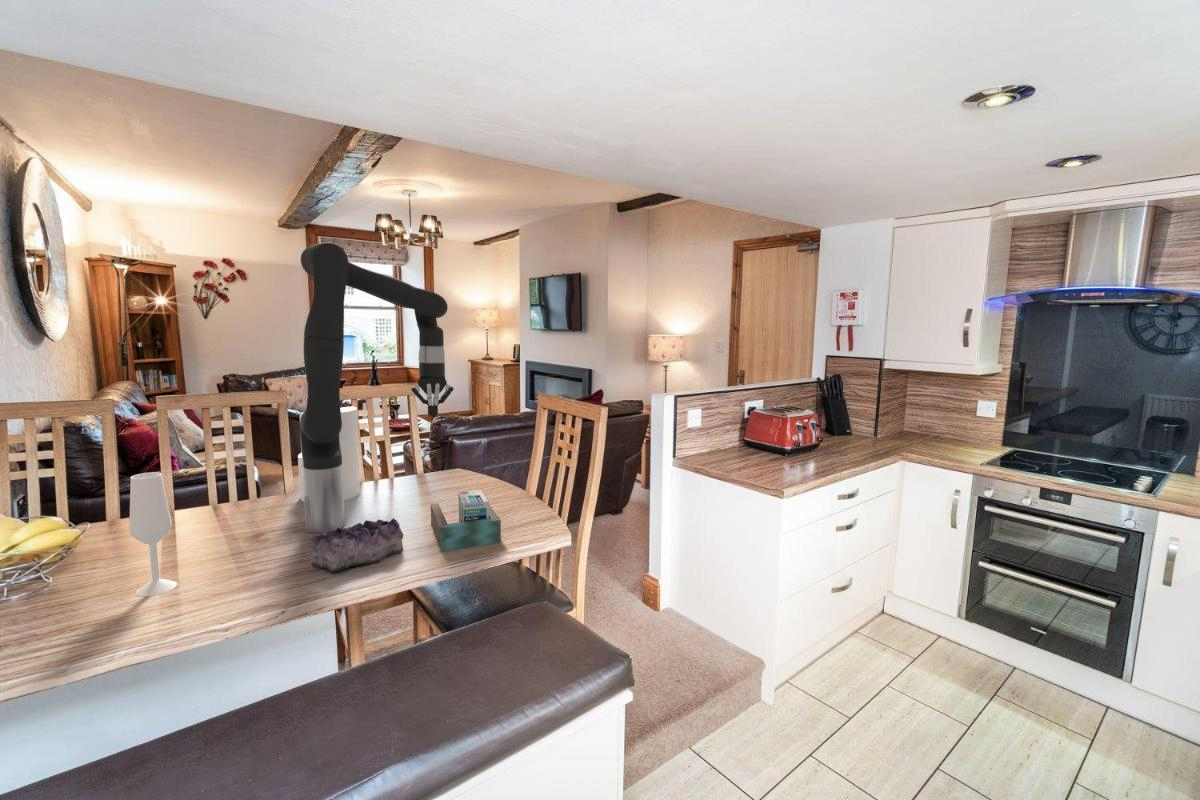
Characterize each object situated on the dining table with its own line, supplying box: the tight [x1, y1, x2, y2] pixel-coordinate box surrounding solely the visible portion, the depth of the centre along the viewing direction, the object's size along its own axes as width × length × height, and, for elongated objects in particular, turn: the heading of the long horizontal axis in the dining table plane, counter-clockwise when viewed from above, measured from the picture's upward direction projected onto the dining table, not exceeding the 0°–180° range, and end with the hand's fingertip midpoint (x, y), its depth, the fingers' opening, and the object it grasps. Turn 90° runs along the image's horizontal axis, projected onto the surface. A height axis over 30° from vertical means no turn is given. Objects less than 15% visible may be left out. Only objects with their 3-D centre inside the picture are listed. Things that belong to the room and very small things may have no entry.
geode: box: [309, 517, 404, 573], centre depth 126 cm, size 20×12×10 cm, turn 134°
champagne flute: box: [128, 471, 178, 597], centre depth 108 cm, size 7×7×24 cm
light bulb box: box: [457, 489, 490, 522], centre depth 141 cm, size 11×7×11 cm, turn 22°
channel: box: [430, 502, 502, 552], centre depth 143 cm, size 15×19×6 cm
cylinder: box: [297, 406, 361, 503], centre depth 170 cm, size 17×17×28 cm
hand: (433, 417), depth 164 cm, fingers closed
